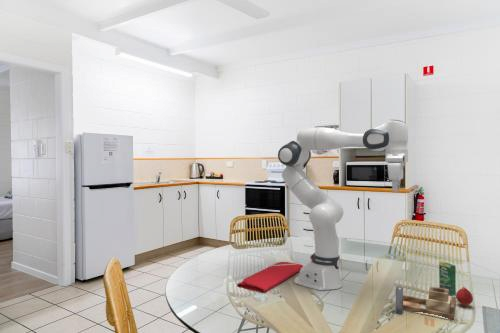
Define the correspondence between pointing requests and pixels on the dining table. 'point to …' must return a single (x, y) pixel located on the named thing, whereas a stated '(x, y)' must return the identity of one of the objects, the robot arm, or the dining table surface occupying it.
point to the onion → (464, 296)
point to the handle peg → (399, 300)
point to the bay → (413, 306)
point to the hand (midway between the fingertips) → (396, 190)
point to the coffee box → (447, 277)
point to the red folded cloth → (270, 277)
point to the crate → (438, 300)
